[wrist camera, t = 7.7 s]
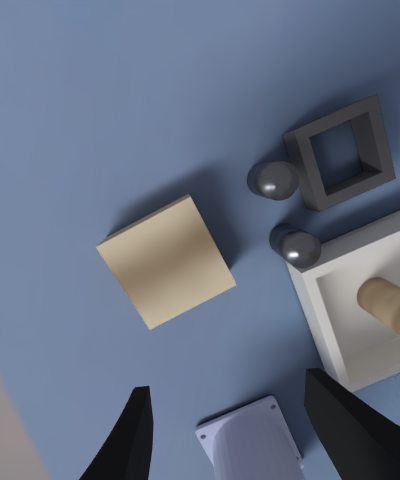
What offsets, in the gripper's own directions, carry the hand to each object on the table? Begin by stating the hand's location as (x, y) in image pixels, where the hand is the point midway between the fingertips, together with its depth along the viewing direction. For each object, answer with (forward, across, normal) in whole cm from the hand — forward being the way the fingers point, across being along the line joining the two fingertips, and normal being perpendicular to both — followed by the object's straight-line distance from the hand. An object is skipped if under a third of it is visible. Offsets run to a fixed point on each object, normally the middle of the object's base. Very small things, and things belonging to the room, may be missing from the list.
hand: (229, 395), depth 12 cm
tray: (+10, -14, +1) cm, 17 cm away
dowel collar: (+10, -10, -10) cm, 18 cm away
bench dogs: (+10, -6, -7) cm, 13 cm away
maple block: (+11, +3, -4) cm, 11 cm away
